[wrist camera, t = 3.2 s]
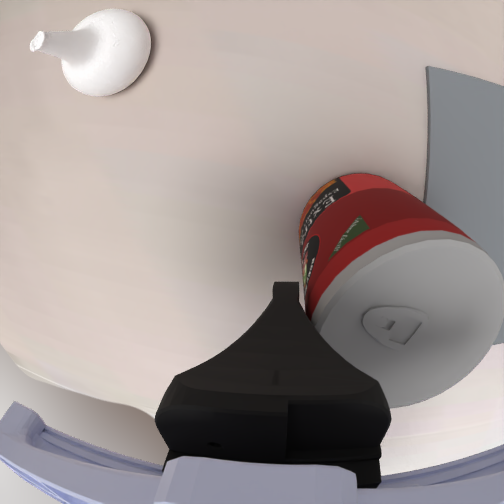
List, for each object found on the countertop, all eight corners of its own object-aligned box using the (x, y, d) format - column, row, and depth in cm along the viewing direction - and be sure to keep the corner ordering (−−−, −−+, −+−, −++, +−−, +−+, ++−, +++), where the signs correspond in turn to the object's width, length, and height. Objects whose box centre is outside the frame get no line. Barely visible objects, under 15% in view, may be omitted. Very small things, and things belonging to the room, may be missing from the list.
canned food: (308, 159, 17) (341, 215, 7) (425, 185, 17) (536, 259, 7) (288, 273, 21) (287, 407, 11) (395, 288, 20) (452, 406, 10)
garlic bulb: (150, 4, 14) (83, -43, 7) (166, 76, 16) (89, 45, 9) (79, 43, 16) (3, 23, 8) (90, 112, 18) (5, 111, 10)
